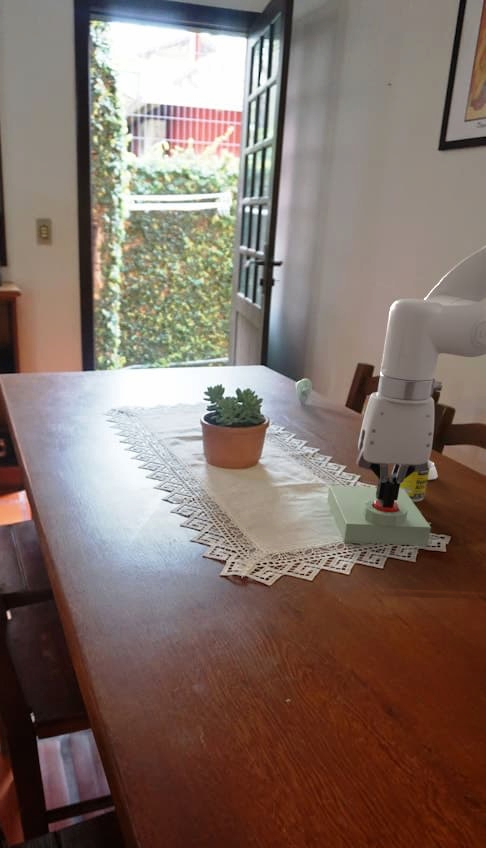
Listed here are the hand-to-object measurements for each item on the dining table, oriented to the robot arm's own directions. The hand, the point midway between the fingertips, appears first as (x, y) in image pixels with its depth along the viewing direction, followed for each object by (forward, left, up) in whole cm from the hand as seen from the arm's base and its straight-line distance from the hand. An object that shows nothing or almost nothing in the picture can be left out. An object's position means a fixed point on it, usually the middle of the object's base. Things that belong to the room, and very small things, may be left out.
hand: (385, 503), depth 106 cm
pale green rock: (+2, -81, -6) cm, 81 cm away
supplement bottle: (-9, -17, -6) cm, 20 cm away
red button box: (0, -5, -6) cm, 8 cm away
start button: (0, 0, -2) cm, 2 cm away
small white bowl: (-15, -28, -6) cm, 32 cm away
